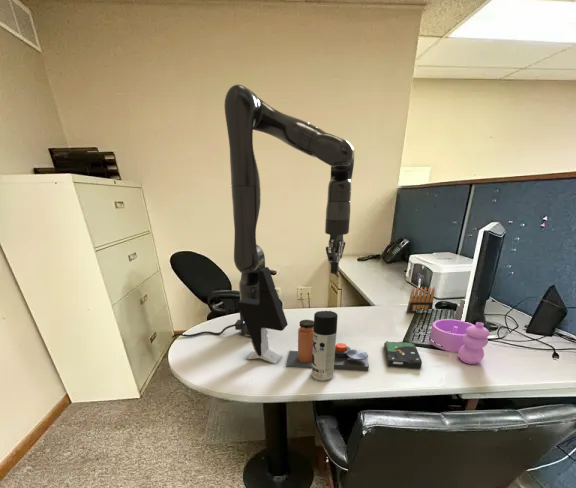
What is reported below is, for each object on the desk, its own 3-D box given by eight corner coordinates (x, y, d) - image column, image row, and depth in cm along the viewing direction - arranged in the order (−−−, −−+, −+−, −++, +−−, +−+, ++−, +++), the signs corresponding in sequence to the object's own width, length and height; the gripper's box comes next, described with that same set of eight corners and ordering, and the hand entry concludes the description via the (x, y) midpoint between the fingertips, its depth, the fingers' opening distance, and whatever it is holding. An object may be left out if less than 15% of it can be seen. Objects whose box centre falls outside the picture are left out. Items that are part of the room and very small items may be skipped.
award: (288, 357, 111) (287, 268, 96) (283, 365, 107) (281, 272, 92) (247, 351, 115) (241, 264, 100) (241, 358, 111) (233, 268, 96)
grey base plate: (323, 369, 104) (323, 359, 102) (324, 353, 114) (324, 344, 112) (368, 371, 103) (369, 361, 101) (364, 355, 112) (366, 345, 111)
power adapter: (468, 323, 136) (476, 295, 131) (455, 322, 137) (462, 295, 131) (466, 320, 139) (474, 293, 133) (453, 320, 140) (460, 292, 134)
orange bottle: (297, 362, 107) (297, 325, 101) (298, 354, 112) (299, 318, 106) (314, 363, 107) (315, 326, 100) (315, 355, 111) (316, 319, 105)
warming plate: (346, 359, 102) (346, 358, 102) (345, 350, 108) (346, 349, 108) (368, 360, 101) (368, 359, 101) (366, 351, 107) (366, 349, 107)
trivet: (286, 367, 105) (286, 365, 105) (290, 351, 115) (290, 350, 115) (320, 368, 104) (320, 367, 104) (321, 353, 114) (321, 352, 113)
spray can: (310, 370, 103) (311, 310, 93) (331, 369, 104) (335, 309, 94) (313, 381, 97) (315, 318, 88) (335, 380, 98) (340, 317, 88)
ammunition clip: (429, 311, 149) (435, 285, 143) (431, 313, 147) (437, 287, 142) (406, 311, 149) (411, 285, 143) (407, 313, 148) (412, 287, 142)
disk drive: (421, 370, 103) (412, 349, 116) (423, 362, 102) (414, 341, 115) (387, 367, 105) (383, 347, 117) (389, 360, 103) (384, 340, 116)
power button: (335, 352, 107) (335, 347, 107) (335, 347, 111) (335, 342, 110) (346, 352, 107) (347, 347, 106) (346, 347, 110) (346, 343, 109)
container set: (423, 334, 127) (430, 301, 120) (462, 334, 127) (472, 301, 120) (450, 366, 105) (460, 328, 99) (498, 366, 105) (511, 328, 98)
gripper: (333, 215, 109) (330, 268, 118) (318, 218, 99) (316, 276, 107) (355, 216, 106) (350, 270, 115) (342, 219, 96) (338, 279, 104)
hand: (334, 273), depth 111 cm, fingers closed
